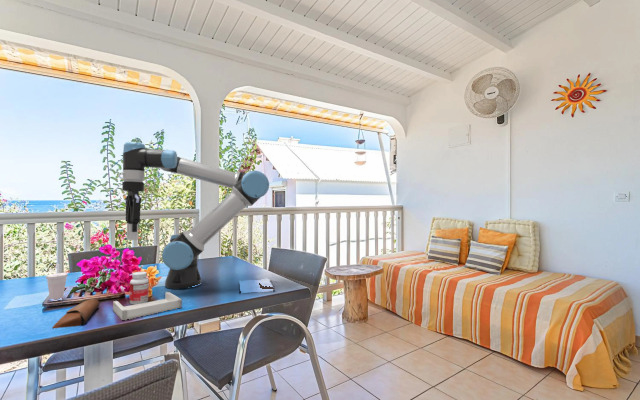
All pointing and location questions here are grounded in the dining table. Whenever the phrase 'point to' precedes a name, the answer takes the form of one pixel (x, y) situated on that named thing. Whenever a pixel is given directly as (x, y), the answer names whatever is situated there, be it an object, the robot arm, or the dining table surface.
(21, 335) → the dining table surface
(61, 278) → the smoothie
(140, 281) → the pill bottle
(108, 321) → the dining table surface
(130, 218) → the robot arm
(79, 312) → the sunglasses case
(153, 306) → the tray
